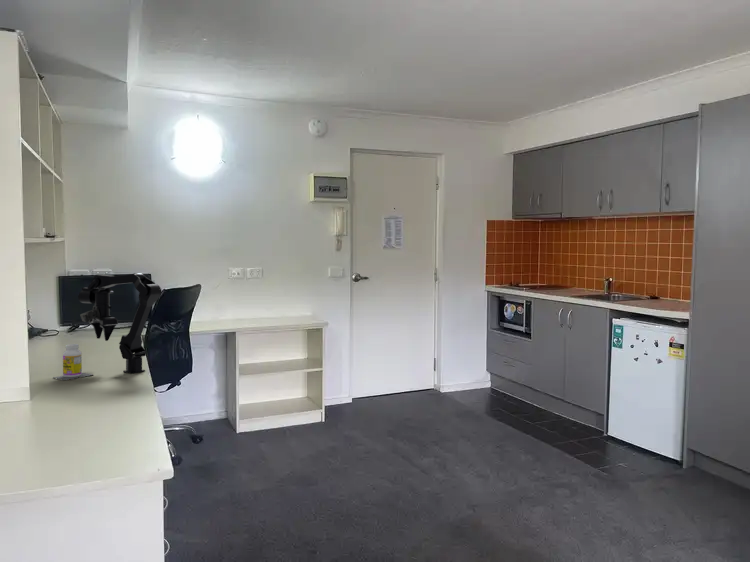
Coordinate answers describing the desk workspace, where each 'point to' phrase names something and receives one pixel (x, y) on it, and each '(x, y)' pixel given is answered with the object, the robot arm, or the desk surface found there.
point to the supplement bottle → (72, 361)
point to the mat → (73, 377)
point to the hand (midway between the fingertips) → (102, 339)
